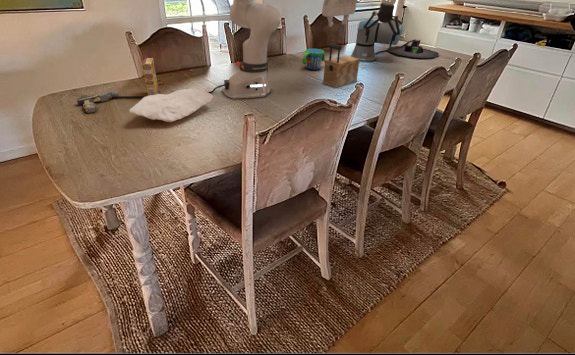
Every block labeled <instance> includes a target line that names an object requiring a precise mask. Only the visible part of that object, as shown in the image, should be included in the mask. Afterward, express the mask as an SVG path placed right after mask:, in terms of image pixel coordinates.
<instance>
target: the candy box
mask: <svg viewBox="0 0 575 355" xmlns="http://www.w3.org/2000/svg"><path fill="white" fill-rule="evenodd" d="M141 66H142V73H143V78H144V82H145V87H146V92H147V96H150V95H156V94H159V91H160V90H159V84H158V79H157V73H156V66H155V62H154V58H153V57H151V58H150V57H149V58H146V57H145V58H143V60H142V63H141Z"/></svg>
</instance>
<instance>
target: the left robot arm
mask: <svg viewBox="0 0 575 355" xmlns="http://www.w3.org/2000/svg"><path fill="white" fill-rule="evenodd" d="M356 10H357V0H323V3H322V9H321V15H322V17H326V19H327V21H328V27H330V28H332V27H334V24H335V22H333V19H334V17H339V16H343V19H342V20H341V25H342V26H345V25H347V22H348V19H349V18H350V15H354V14H355V12H356ZM229 18H230V21H231V22H232V23H233V24H235V25H236V26H238V27H240V28H243V29H247V30H250V34H249V38H247V39H246V40H245V41H244V42H243V43H242V59H243V60H242V61H236V62H235V65H236V66H237V67H239V69H237V71H236V72H235V73H234V74H232V75H231V76H230V77H229V78H228V79H223V84H220V85H218V86H216V87H214V88H213V89H212V90H211V91H207V92H208V93H210V94H212V93H214V92H215V91H216V90H217V89H219V88H222V87H224V88H223V91H222V92H223V94H224V95H225V96H226V97H228V98H230V99H233V100H236V99H237V100H238V99H239V100H240V99H253V98H254V99H255V98H264V97H266V95H268V94H269V93H270V92H271V88H270V84H269V78H268V76H269V75H268V72H269V61H268V47H269V46H268V45H269V40H270V38H271V36H272V35H273V33H274V32H275V31H277V30H278V29H279V27H280V24H281V13H280V11H279V9H278V8H276V7H274V6H272V5H270V4H267V3H261V2H256V0H233V1H232V4H231V6H230V8H229ZM146 96H147V95H141V96H140V95H139V96H138V95H130V96H129V95H128V96H127V95H126V96H125V95H123V96H121V95H119V96H117V97H112V98H111V99H142V98H144V97H146Z"/></svg>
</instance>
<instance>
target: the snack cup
mask: <svg viewBox="0 0 575 355" xmlns="http://www.w3.org/2000/svg"><path fill="white" fill-rule="evenodd" d="M304 51H305V52H304V54H303V57H302V64H303V65H306V68H307V70H311V71H312V70H313V71H317V70H320V68H321V64H322V62H324V60H326V54H325V51H324V50H323V49H321V48H306V49H305V50H304Z"/></svg>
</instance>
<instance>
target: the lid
mask: <svg viewBox="0 0 575 355" xmlns="http://www.w3.org/2000/svg"><path fill="white" fill-rule="evenodd" d="M333 50H336V51H337V57H333V58H332V56H333V55H332V53H333ZM341 50H342V45H339V44H336V43H329V58H327V59H325V60H324V61H323V63H324V64H325V63H327V64H330V65H334V66H337V67H339V66H343V65H347V64H351V63H355V62H359V63H360V61H359V60H360V59H357V58H354V57H351V56H350V55H347V54H346V55H341V56H340V54H341Z"/></svg>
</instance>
